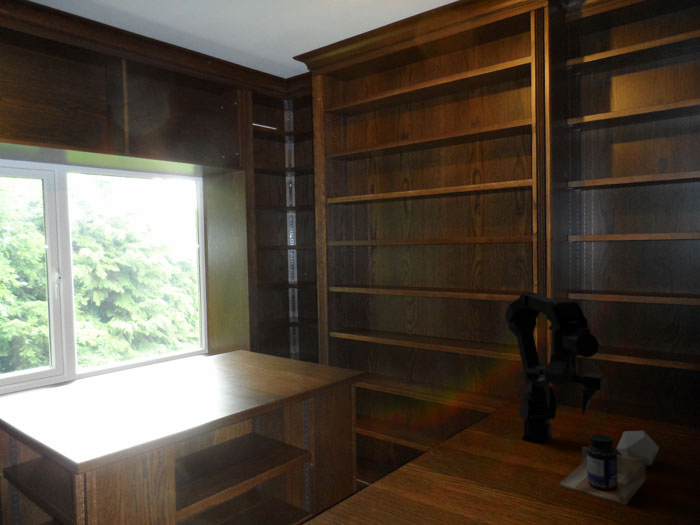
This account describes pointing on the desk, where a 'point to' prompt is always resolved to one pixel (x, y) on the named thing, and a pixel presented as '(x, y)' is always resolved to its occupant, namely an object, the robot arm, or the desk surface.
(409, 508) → the desk surface
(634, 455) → the grey polyhedron
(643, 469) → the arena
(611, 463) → the pill bottle
